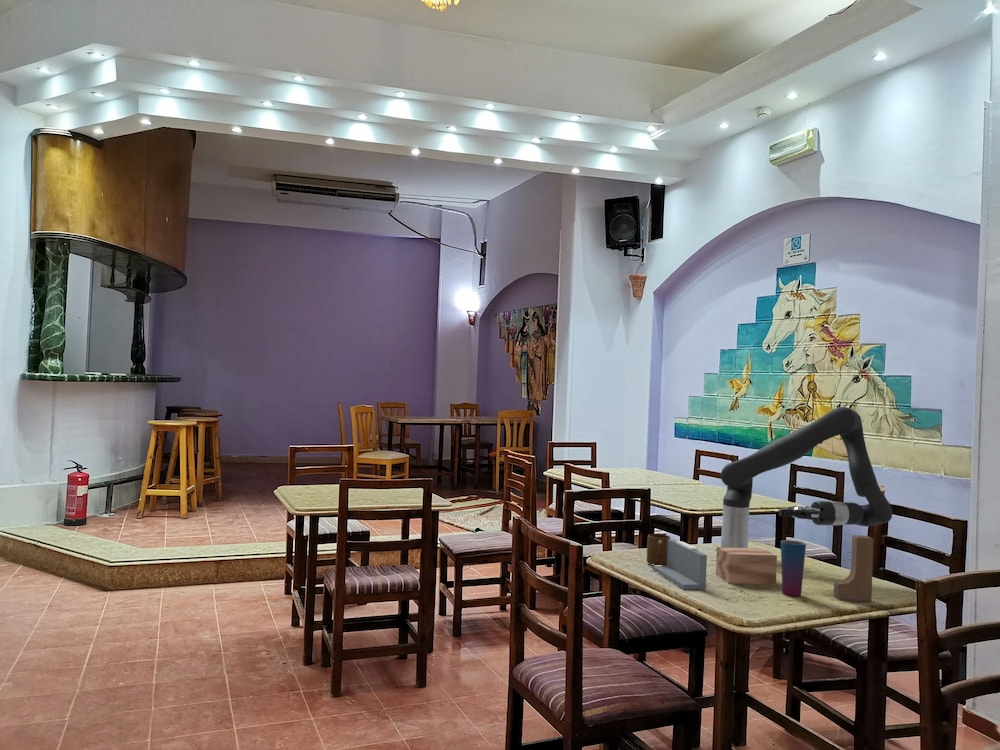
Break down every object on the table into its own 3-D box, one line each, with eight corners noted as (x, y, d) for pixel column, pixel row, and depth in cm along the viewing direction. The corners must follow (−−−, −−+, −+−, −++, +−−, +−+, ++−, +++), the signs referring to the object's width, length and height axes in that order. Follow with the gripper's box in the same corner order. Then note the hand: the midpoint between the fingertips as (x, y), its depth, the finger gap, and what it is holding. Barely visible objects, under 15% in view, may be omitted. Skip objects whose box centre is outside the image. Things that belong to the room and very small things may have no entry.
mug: (672, 570, 233) (673, 541, 233) (648, 569, 234) (649, 539, 234) (668, 562, 245) (669, 534, 245) (645, 560, 246) (646, 533, 246)
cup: (806, 594, 210) (808, 542, 211) (801, 599, 205) (803, 545, 205) (782, 590, 214) (783, 539, 215) (776, 594, 209) (778, 542, 209)
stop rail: (652, 570, 232) (653, 537, 232) (672, 570, 233) (673, 537, 233) (683, 589, 209) (684, 552, 210) (705, 589, 210) (706, 553, 211)
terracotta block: (715, 575, 230) (716, 547, 230) (761, 576, 231) (762, 548, 231) (728, 583, 220) (729, 553, 220) (775, 585, 221) (776, 555, 221)
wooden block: (838, 599, 206) (840, 536, 206) (833, 595, 210) (835, 533, 211) (871, 602, 205) (873, 538, 205) (866, 598, 209) (868, 535, 210)
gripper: (817, 498, 238) (768, 497, 234) (843, 504, 225) (792, 503, 221) (816, 521, 237) (768, 521, 234) (842, 528, 224) (791, 528, 221)
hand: (780, 512), depth 228 cm, fingers closed
